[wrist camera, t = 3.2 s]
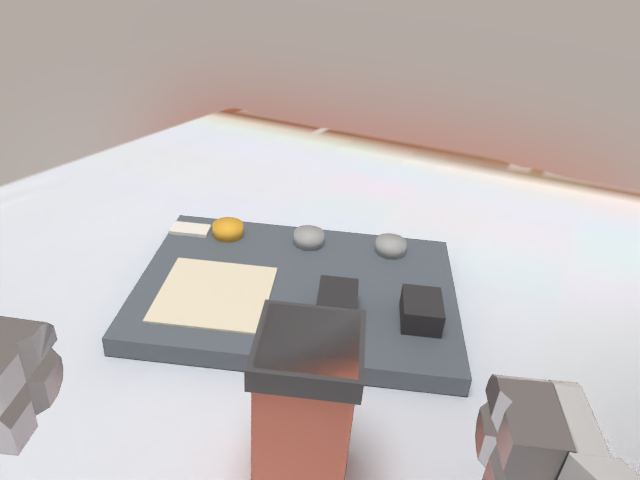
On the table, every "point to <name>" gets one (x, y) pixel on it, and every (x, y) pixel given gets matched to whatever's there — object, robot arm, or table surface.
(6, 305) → the table surface
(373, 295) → the switch board
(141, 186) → the table surface
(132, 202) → the table surface
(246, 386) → the block
